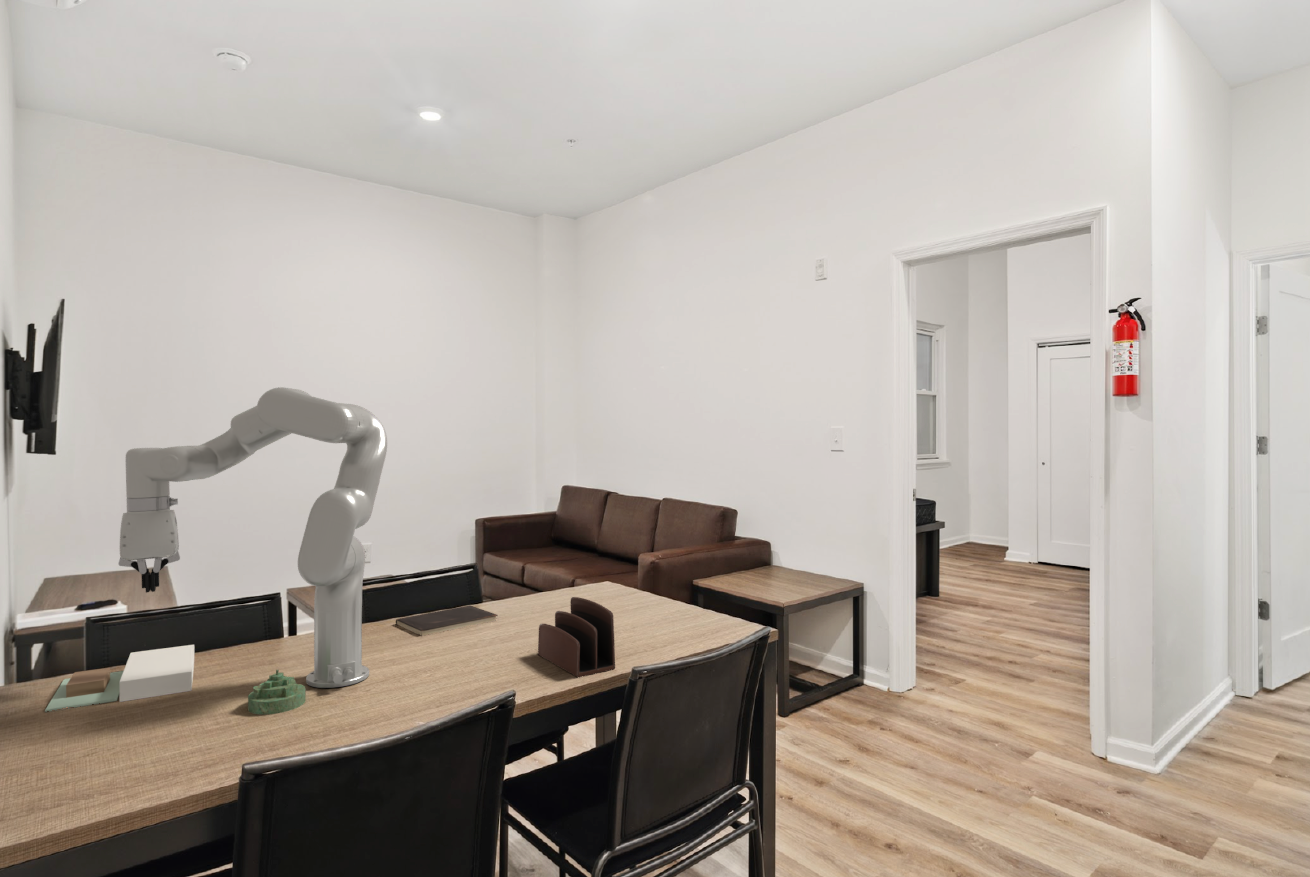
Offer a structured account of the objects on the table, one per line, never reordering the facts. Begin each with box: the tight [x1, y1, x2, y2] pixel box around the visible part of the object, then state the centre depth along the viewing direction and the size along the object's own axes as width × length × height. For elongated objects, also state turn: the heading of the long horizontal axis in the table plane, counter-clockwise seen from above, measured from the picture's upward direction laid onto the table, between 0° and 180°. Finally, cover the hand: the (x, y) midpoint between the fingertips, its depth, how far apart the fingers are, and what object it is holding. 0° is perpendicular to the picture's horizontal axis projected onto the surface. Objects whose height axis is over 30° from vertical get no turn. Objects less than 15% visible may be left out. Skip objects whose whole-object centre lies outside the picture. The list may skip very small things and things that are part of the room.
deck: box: [119, 644, 195, 703], centre depth 153 cm, size 22×12×4 cm, turn 32°
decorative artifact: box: [247, 669, 306, 716], centre depth 140 cm, size 10×7×10 cm
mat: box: [44, 670, 124, 713], centre depth 147 cm, size 20×11×1 cm, turn 32°
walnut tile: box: [66, 667, 111, 698], centre depth 147 cm, size 9×6×2 cm, turn 31°
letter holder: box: [537, 596, 616, 678], centre depth 167 cm, size 10×20×14 cm, turn 36°
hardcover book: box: [395, 605, 498, 637], centre depth 201 cm, size 16×23×2 cm
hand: (150, 590), depth 151 cm, fingers closed
